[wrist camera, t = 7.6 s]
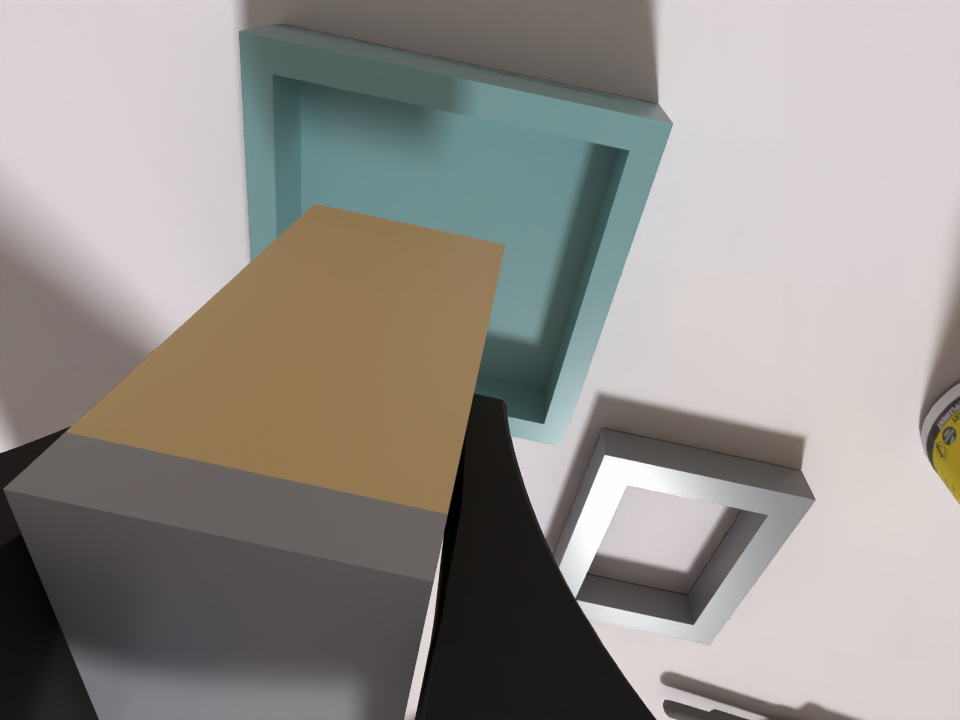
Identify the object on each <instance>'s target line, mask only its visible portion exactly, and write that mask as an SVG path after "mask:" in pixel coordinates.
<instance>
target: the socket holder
mask: <svg viewBox="0 0 960 720" xmlns="http://www.w3.org/2000/svg"><path fill="white" fill-rule="evenodd" d="M627 485H630V486H635V487H640V488H644V489H649V490H654V491H658V492H663V493H668V494H672V495H677V496H682V497H686V498H691V499H696V500H700V501H705V502H710V503H714V504H719V505H724V506H728V507H733V508H738V509H742V511H741V512H740V514H739V515H738V517H737V519H736V520H735V522H734V523H733V525H732V526H731V528H730V530H729V531H728V533H727V534H726V536H725V537H724V539H723V541H722V542H721V544H720V545H719V547H718V548H717V550H716V552H715V553H714V555H713V556H712V558H711V560H710V561H709V563H708V564H707V566H706V567H705V569H704V571H703V572H702V574H701V575H700V577H699V578H698V580H697V582H696V583H695V585H694V586H693V588H692V589H691V591H690V593H689V594H688V596H687V595H682V594H678V593H673V592H668V591H664V590H659V589H655V588H650V587H645V586H641V585H636V584H631V583H627V582H622V581H617V580H613V579H608V578H603V577H599V576H594V575H589V574H587V572H588V569H589V567H590V565H591V563H592V561H593V558H594V556H595V554H596V552H597V549H598V547H599V545H600V543H601V541H602V538H603V536H604V534H605V532H606V530H607V527H608V525H609V523H610V521H611V519H612V516H613V514H614V512H615V510H616V508H617V505H618V503H619V501H620V499H621V497H622V494H623V492H624V490H625V488H626V486H627ZM814 502H815V498H814V496H813V493H812V491H811V489H810V487H809V485H808V483H807V481H806V479H805V477H804V475H803V473H802V471H800V470H795V469H790V468H786V467H781V466H776V465H772V464H767V463H762V462H758V461H753V460H748V459H744V458H739V457H734V456H730V455H725V454H720V453H716V452H711V451H706V450H702V449H697V448H692V447H688V446H683V445H678V444H674V443H669V442H664V441H660V440H655V439H650V438H646V437H641V436H636V435H632V434H627V433H622V432H618V431H613V430H608V429H604V428H602V431H601V433H600V436H599V439H598V441H597V444H596V446H595V449H594V451H593V454H592V457H591V459H590V462H589V464H588V467H587V469H586V472H585V475H584V477H583V480H582V482H581V485H580V487H579V490H578V493H577V495H576V498H575V500H574V503H573V505H572V508H571V510H570V513H569V516H568V518H567V521H566V523H565V526H564V528H563V531H562V534H561V536H560V539H559V541H558V544H557V546H556V549H555V552H554V554H553V557H554V559H555V561H556V563H557V565H558V567H559V569H560V571H561V573H562V575H563V577H564V579H565V580H566V582H567V584H568V586H569V588H570V590H571V592H572V594H573V595H574V597H575V599H576V601H577V602H578V604H579V606H580V607H581V609H582V610H583V612H584V614H585V615H586V617H587V619H588V620H593V621H598V622H602V623H607V624H611V625H616V626H621V627H625V628H630V629H635V630H639V631H644V632H649V633H653V634H658V635H663V636H667V637H672V638H677V639H681V640H686V641H691V642H695V643H700V644H705V645H710V644H711V643H712V641H713V640H714V639H715V637H716V636H717V634H718V633H719V632H720V630H721V629H722V628H723V626H724V625H725V623H726V622H727V621H728V619H729V618H730V617H731V615H732V614H733V613H734V611H735V610H736V608H737V607H738V606H739V604H740V603H741V602H742V600H743V599H744V597H745V596H746V595H747V593H748V592H749V591H750V589H751V588H752V587H753V585H754V584H755V582H756V581H757V580H758V578H759V577H760V576H761V574H762V573H763V571H764V570H765V569H766V567H767V566H768V565H769V563H770V562H771V561H772V559H773V558H774V556H775V555H776V554H777V552H778V551H779V550H780V548H781V547H782V545H783V544H784V543H785V541H786V540H787V539H788V537H789V536H790V535H791V533H792V532H793V530H794V529H795V528H796V526H797V525H798V524H799V522H800V521H801V519H802V518H803V517H804V515H805V514H806V513H807V511H808V510H809V509H810V507H811V506H812V504H813V503H814Z"/></svg>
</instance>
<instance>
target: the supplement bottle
mask: <svg viewBox="0 0 960 720" xmlns="http://www.w3.org/2000/svg"><path fill="white" fill-rule="evenodd" d="M921 442H922V447H923V450H924V452H925V455H926V457H927V458H928V460H929V462H930V463H931V465H932V467H933V469H934V470H935V471H936V473H937V474H938V475H939V477H940V478H941V479H942V481H943V482H944V483H945V485H946V486H947V488H948V489H949V490H950V492H951V493H952V494H953V496H954V497H955V498H956V500H957V501H958V503H959V504H960V382H959V383H958V384H957V385H955V386H954V387H952V388H951V389H950V390H949V391H947V392H946V393H945V394H944V395H943V396H942V397H941V398H940V399H939V400H938V401H937V402H936V403H935V404H934V406H933V407H932V408H931V410H930V411H929V413H928V415H927V416H926V418H925V421H924V423H923V427H922V432H921Z"/></svg>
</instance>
